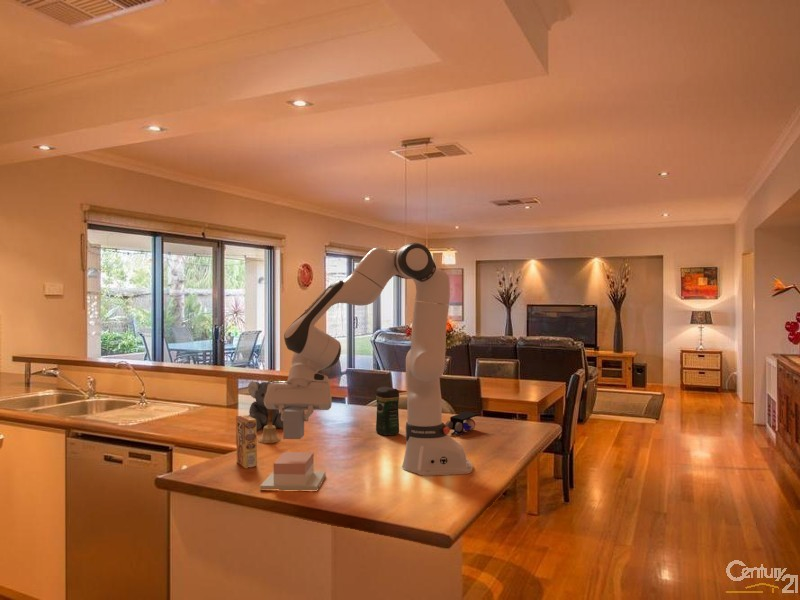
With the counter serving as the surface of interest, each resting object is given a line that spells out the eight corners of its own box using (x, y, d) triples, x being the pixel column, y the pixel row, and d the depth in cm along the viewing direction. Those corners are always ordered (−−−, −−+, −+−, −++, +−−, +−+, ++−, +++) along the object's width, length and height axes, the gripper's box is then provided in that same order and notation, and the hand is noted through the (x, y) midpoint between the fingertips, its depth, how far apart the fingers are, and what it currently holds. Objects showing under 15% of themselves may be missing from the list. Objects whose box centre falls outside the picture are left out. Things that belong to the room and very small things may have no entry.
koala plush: (247, 432, 231) (247, 384, 231) (240, 423, 248) (240, 378, 247) (290, 428, 238) (290, 381, 238) (280, 420, 255) (280, 376, 255)
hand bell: (273, 437, 223) (273, 396, 223) (284, 440, 217) (285, 398, 217) (254, 440, 217) (254, 398, 217) (265, 444, 212) (265, 401, 212)
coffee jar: (402, 434, 228) (402, 387, 228) (385, 437, 223) (385, 389, 223) (389, 429, 236) (389, 384, 235) (372, 432, 231) (372, 386, 231)
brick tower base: (325, 476, 174) (325, 451, 174) (316, 491, 160) (316, 465, 160) (273, 475, 175) (273, 451, 175) (260, 490, 161) (260, 464, 161)
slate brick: (304, 435, 170) (304, 408, 170) (300, 439, 165) (300, 411, 165) (287, 434, 170) (287, 407, 170) (283, 438, 165) (283, 411, 165)
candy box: (257, 466, 184) (257, 419, 184) (244, 468, 182) (244, 420, 182) (247, 460, 191) (247, 414, 191) (235, 462, 189) (235, 416, 189)
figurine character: (459, 441, 223) (479, 429, 235) (458, 422, 222) (478, 411, 234) (445, 438, 227) (465, 427, 239) (443, 419, 227) (464, 409, 238)
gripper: (266, 375, 176) (257, 413, 166) (332, 376, 175) (327, 414, 165) (270, 387, 180) (261, 425, 171) (335, 388, 179) (329, 426, 170)
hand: (294, 420), depth 168 cm, fingers closed on slate brick, 5 cm apart
